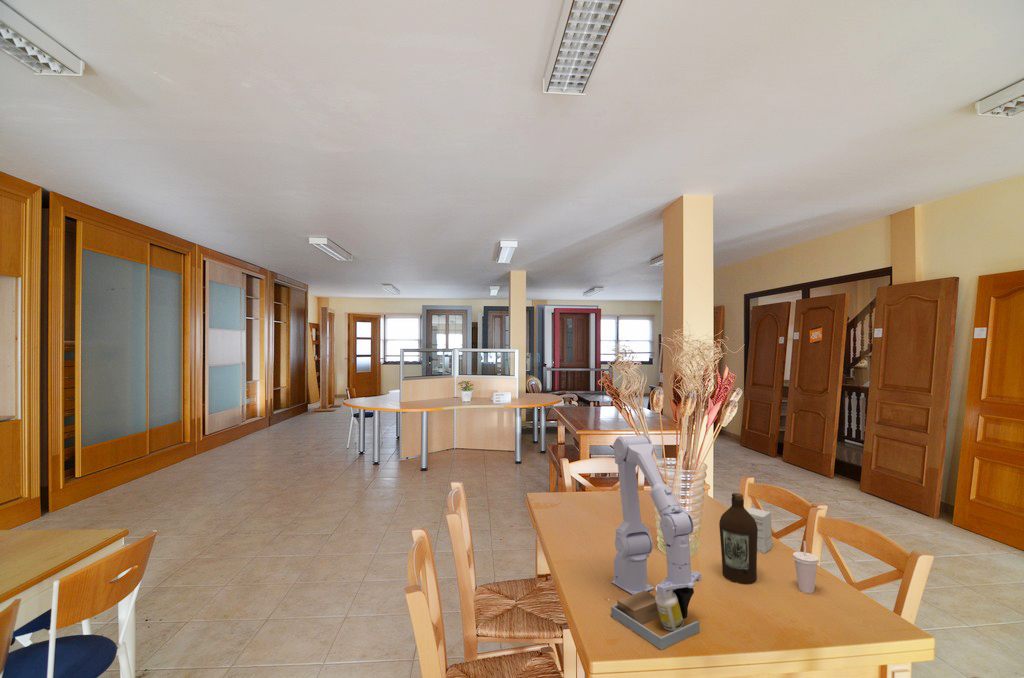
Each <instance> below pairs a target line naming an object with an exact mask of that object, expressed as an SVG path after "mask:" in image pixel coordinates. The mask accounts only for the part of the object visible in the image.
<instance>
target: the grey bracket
mask: <svg viewBox="0 0 1024 678" xmlns="http://www.w3.org/2000/svg"><path fill="white" fill-rule="evenodd" d="M610 613H611V614H610V616H611V617H612V618H613V619H615V620H616V621H618V623H621V624H622V625H624V627H626V628H628V629H629V630H630V631H632V632H634V633H636V634H637V635H638V636H639V637H642V638H643V639H645V640H646V641H647V642H648V643H650V644H651V645H653V646H655V647H657V649H659V650H661V651H662V650H664V649H666V648H668V647H671V646H672V645H675V644H678V643H679V642H682V641H684V640H686V639H688V638H690V637H692V636H694V635H696V634H699V633H700V621H699V620H696V621H693V622H691V623H690V624H687V625H684V626H682V628H680V629H678V630H675V631H671V632H669V633H667V634H665V635H663V636H660V635H659V634H657V633H656V632H654V631H652V630H650V629H649V628H647V627H646V626H644V625H643V624H640V623H638V622H637V621H635V620H634V619H632V618H631V617H629V616H627V615H626V614H624V613H623V612H621V611H620V610H618V609H617V604H613V605H611V606H610Z"/></svg>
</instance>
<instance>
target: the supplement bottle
mask: <svg viewBox="0 0 1024 678" xmlns="http://www.w3.org/2000/svg"><path fill="white" fill-rule="evenodd" d="M655 592H656V595H655V596H656V597H655V600H656V604H657V608H658V612H659V616H660V617H659V618H660V621H661V626H662V627H663V628H664V629H665V630H667V631H671V632H673V631H676V630H678V629H680V628H682V627H684V623H685V622H684V619H683V617H682V613H681V609H680V606H679V602H678V598H677V596H676V594H675V593H674V592H673V590H672V589H670V590H667V591H666V595H665V596H662V595H660V594H658V593H657V585H656V586H655Z"/></svg>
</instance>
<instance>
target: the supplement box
mask: <svg viewBox="0 0 1024 678" xmlns="http://www.w3.org/2000/svg"><path fill="white" fill-rule="evenodd" d="M746 510H747V512H748V513H749V514H750V515H751V516H752V517H753V518H754V520H755V521H756V524H757V528H758V536H757V553H761V554H766V553H767V552H769V551H770V550H771V549H773V537H772V536H773V534H772V528H773V527H772V512H771V511H767V510H763V509H759V508H755V507H749V508H747V509H746Z"/></svg>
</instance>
